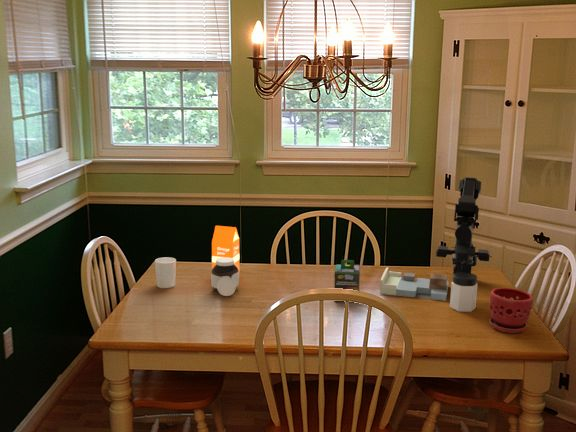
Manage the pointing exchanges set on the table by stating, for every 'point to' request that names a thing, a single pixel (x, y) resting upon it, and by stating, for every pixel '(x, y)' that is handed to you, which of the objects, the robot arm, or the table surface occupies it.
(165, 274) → the white cup
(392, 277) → the deck
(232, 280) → the spread jar
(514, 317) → the plant pot
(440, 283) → the walnut block
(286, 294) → the table surface
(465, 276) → the jar
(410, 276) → the gray block
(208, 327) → the table surface
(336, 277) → the chalk box
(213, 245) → the orange juice
